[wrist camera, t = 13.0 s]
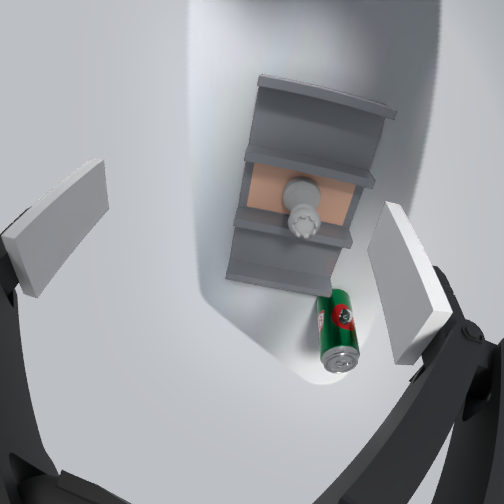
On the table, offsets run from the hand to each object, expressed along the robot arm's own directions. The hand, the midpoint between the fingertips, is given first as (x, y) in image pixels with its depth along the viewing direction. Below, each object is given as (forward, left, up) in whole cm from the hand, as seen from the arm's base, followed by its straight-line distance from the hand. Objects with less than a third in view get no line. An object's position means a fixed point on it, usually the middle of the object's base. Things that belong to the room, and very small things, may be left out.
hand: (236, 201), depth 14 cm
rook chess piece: (+8, +6, -22) cm, 24 cm away
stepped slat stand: (+8, +6, -23) cm, 25 cm away
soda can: (+24, +15, -23) cm, 36 cm away
